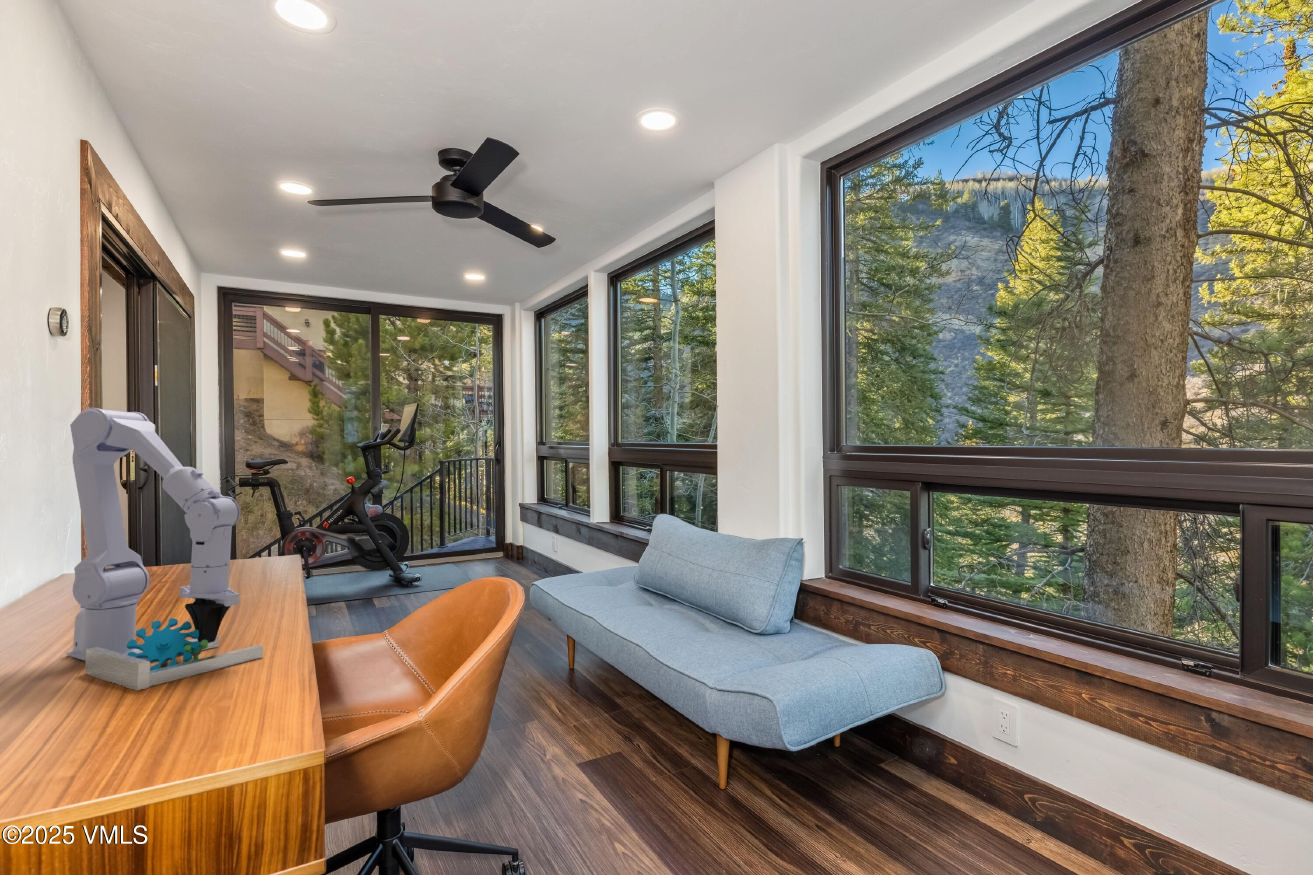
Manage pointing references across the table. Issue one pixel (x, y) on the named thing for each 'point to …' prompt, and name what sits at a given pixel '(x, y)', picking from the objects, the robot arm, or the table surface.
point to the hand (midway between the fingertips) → (206, 642)
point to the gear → (167, 644)
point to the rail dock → (140, 677)
